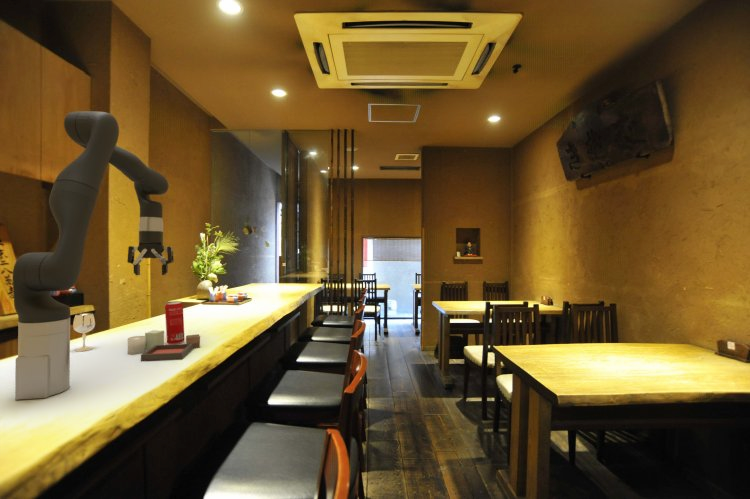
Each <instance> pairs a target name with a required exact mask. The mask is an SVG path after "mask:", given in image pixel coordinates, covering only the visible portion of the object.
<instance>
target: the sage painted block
mask: <svg viewBox="0 0 750 499" xmlns="http://www.w3.org/2000/svg"><path fill="white" fill-rule="evenodd" d="M144 336H146V351H147V350H149V349H150V348H152V347H153V346H155V345H165V330H157V329H156V330H155V329H154V330H153V329H152V330H150V331H147V332H145V333H144Z"/></svg>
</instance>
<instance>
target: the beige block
mask: <svg viewBox="0 0 750 499" xmlns="http://www.w3.org/2000/svg"><path fill="white" fill-rule="evenodd" d="M144 352H146V336H145V335H134V336H130V337H127V355H128V356H133V355H135V356H136V355H141V354H143V353H144Z"/></svg>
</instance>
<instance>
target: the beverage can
mask: <svg viewBox="0 0 750 499" xmlns="http://www.w3.org/2000/svg"><path fill="white" fill-rule="evenodd" d="M164 311H165V312H164V315H165V335H166V336H165V337H166V345H171V344H184V342H185V341H186V338H185V323H184V322H185V320H184V305H183V302H182V301H177V300H175V301H170V302H169V301H168V302H166V303H165V306H164Z"/></svg>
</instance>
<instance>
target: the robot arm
mask: <svg viewBox="0 0 750 499" xmlns="http://www.w3.org/2000/svg"><path fill="white" fill-rule="evenodd" d="M117 120H118V119H117V118H116V117H115V116H114V115H113V114H111V113H109V112H105V111H99V110H98V111H94V110H92V111H91V110H88V111H87V110H85V111H84V110H78V111H71V112H69V113H67V114H66V116H65V117H64V121H63V127H64V130H65V132H66V134H67V136H68V137H69V138H70V139H71V140H72V141H73V143H76V144H77V145H79V146H81V147H82V148H84V149H83V152H81V154H80V155H78V156H77V157H76V158H75V159H74V160H73V161H71V162H70V163H69V164H67V165H66V167H64V168H62V170H61V171H60V172H59V173H58V175H57V176H56V178H55V180H54V182H53V186H52V189H51V192H50V194H49V198H48V204H49V208H50V211H51V214H52V216H53V217H54V219H55V222H56V224H57V227H58V232H59V235H58V240H57V244H56V248H55V250H54V252H48V251H47V252H46V251H45V252H40V251H39V252H27V253H24V254H22V255H20V256H19V257H18V258H17V260H16V261H15V262H14V265H13V270H12V291H13V306H14V310H15V312H16V314H17V318H18V326H17V327H18V328H17V331H18V333H17V334H18V336H17V344H18V345H17V357H16V358H15V371H14V372H15V381H14V382H15V383H14V384H15V387H14V388H15V389H14V390H15V391H14V392H15V393H14V394H15V395H14V398H15V399H14V400H15V401H17V400H31V399H44V398H45V399H47V398H48V397H50V396H54V395H58V394H60V393H63V392H65V391H67V390H68V389H70V387H71V386H70V382H71V381H70V379H71V378H70V376H71V370H70V369H71V368H70V367H71V360H70V359H71V357H70V356H71V308H70V306H69V305H67V304H65V303H62V302H59V301H58V300H56V299H54V298H53V297H52V295H51V292H63V291H68V290H70V289H72V288H73V287H74V286H75V285H76V284H77V281H78V279H79V277H80V274H81V270H82V266H83V258H84V253H85V246H86V242H87V241H86V240H87V235H88V231H89V227H90V225H91V224H90V223H91V219H92V216H93V213H94V210H95V208H96V207H95V206H97V205H96V204H97V201H98V198H99V195H100V194H99V193H100V191H101V190H100V189H101V185H102V182H103V179H104V175H105V172H106V169H107V166H108V164H109V165H112V166H113V167H114V168H116V169H117V170H118V171H120V173H121V174H123V175H124V176H125V177H126V178H127V179H129V180H130V181H131V182H133V187H134V191H135V194H136V197H137V201H138V203H139V204H138V205H139V222H138V246H134V245H129V246H128V248H127V261H126V262H127V263H128V264H132V265H133V274H135V276H140V275H141V265H140V264H141V262H142V261H143V260H145V259H158V261H159V262H160V263H161V276H166V274H168V271H169V268H168V265H169V264H172V263H174V260H175V258H174V247H173V246H164V229H165V228H164V220H163V219H164V218H163V204H162V202H160V201H156V200H152V199H151V197H150V195H153V196H155V195H156V196H162V195H164V194H166V193H167V192H168V190H169V182H168V180H167V178H166V177H165V176H164V175H163V174H162V173H160V172H159V171H156V170H155V169H154V168H151V167H149V166H147V165H146V164H145V163H144V162H143V161H142V160H141V159H140V158H139V157H138V155H135V154H134V153H132V152H131V151H129V150H127V149H125V148H123V147H120V146H118V145H117V143H118V140H119V136H120V127H119V123H118V121H117ZM137 251H138V253H139V254H138V255H137V256H136V259H135V255H136V254H135V253H137ZM164 251H165V253H167V259H166V257H165V255H164V254H163V253H164Z"/></svg>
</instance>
